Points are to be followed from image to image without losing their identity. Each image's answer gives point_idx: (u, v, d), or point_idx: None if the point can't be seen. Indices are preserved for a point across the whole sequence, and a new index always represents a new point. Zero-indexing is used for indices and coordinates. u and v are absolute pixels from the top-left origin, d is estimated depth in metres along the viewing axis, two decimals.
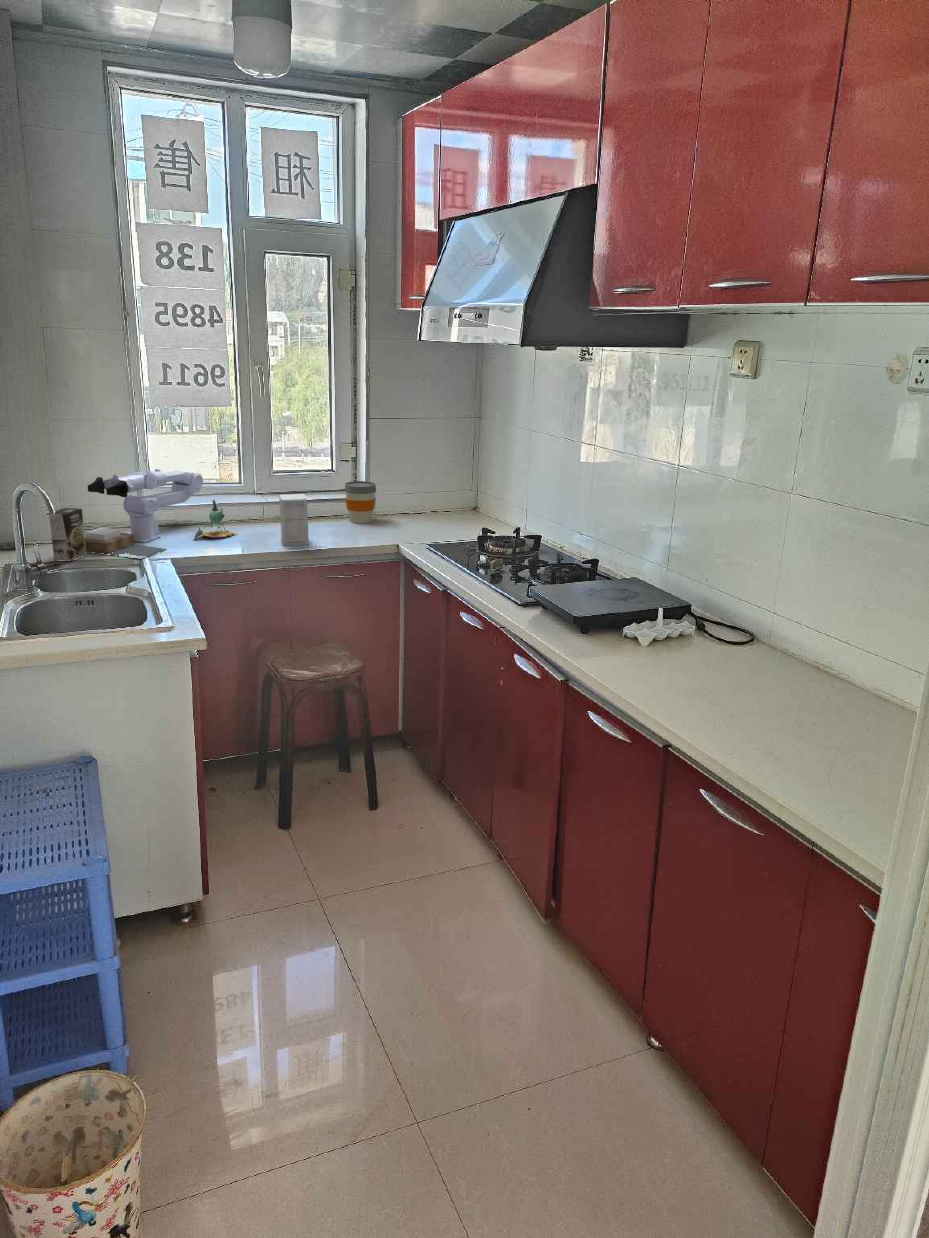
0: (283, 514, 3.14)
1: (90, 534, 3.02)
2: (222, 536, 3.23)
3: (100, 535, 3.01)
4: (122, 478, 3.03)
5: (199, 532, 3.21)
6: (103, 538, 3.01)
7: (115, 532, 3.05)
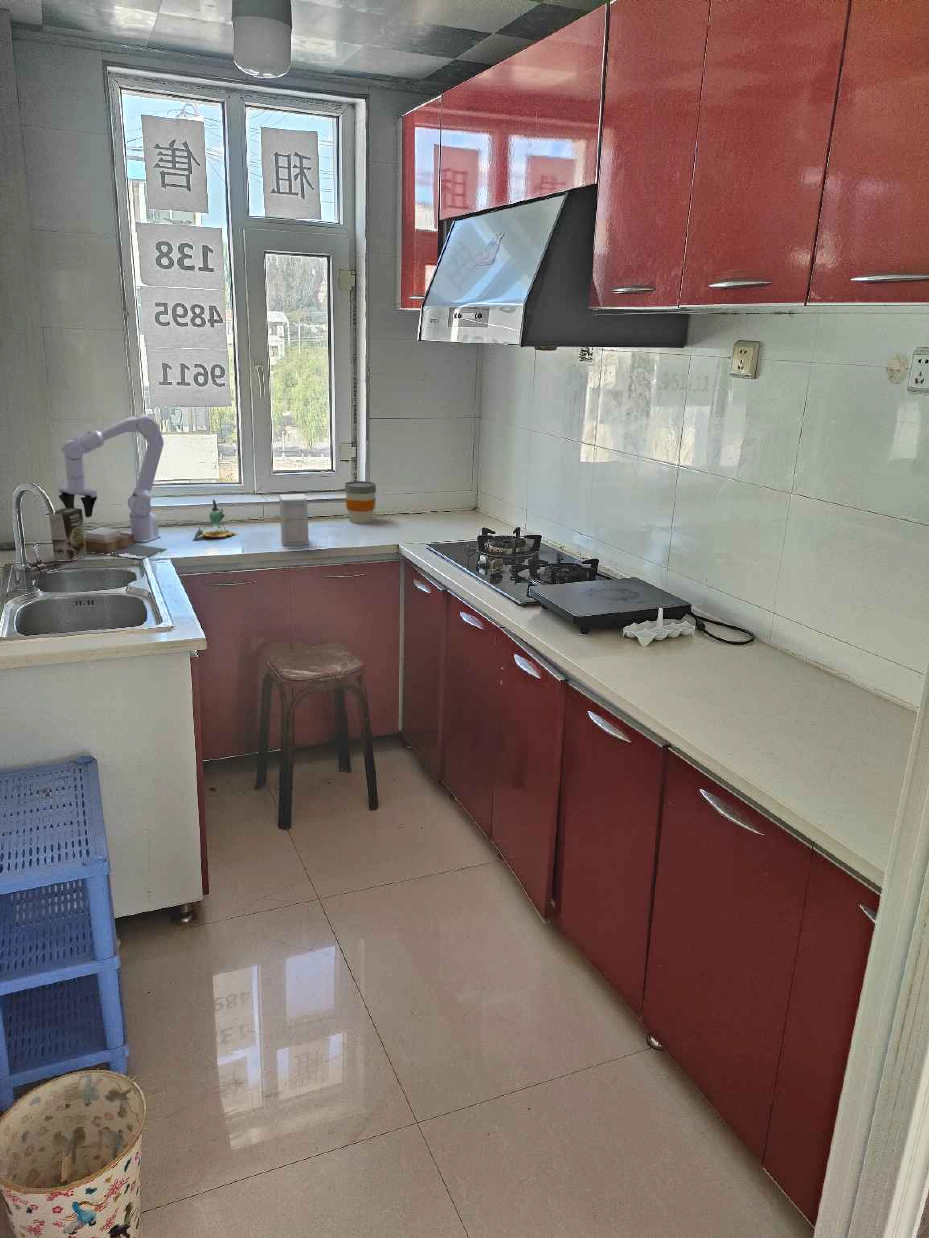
0: (283, 514, 3.14)
1: (90, 534, 3.02)
2: (222, 536, 3.23)
3: (100, 535, 3.01)
4: (73, 486, 3.00)
5: (199, 532, 3.21)
6: (103, 538, 3.01)
7: (115, 532, 3.05)
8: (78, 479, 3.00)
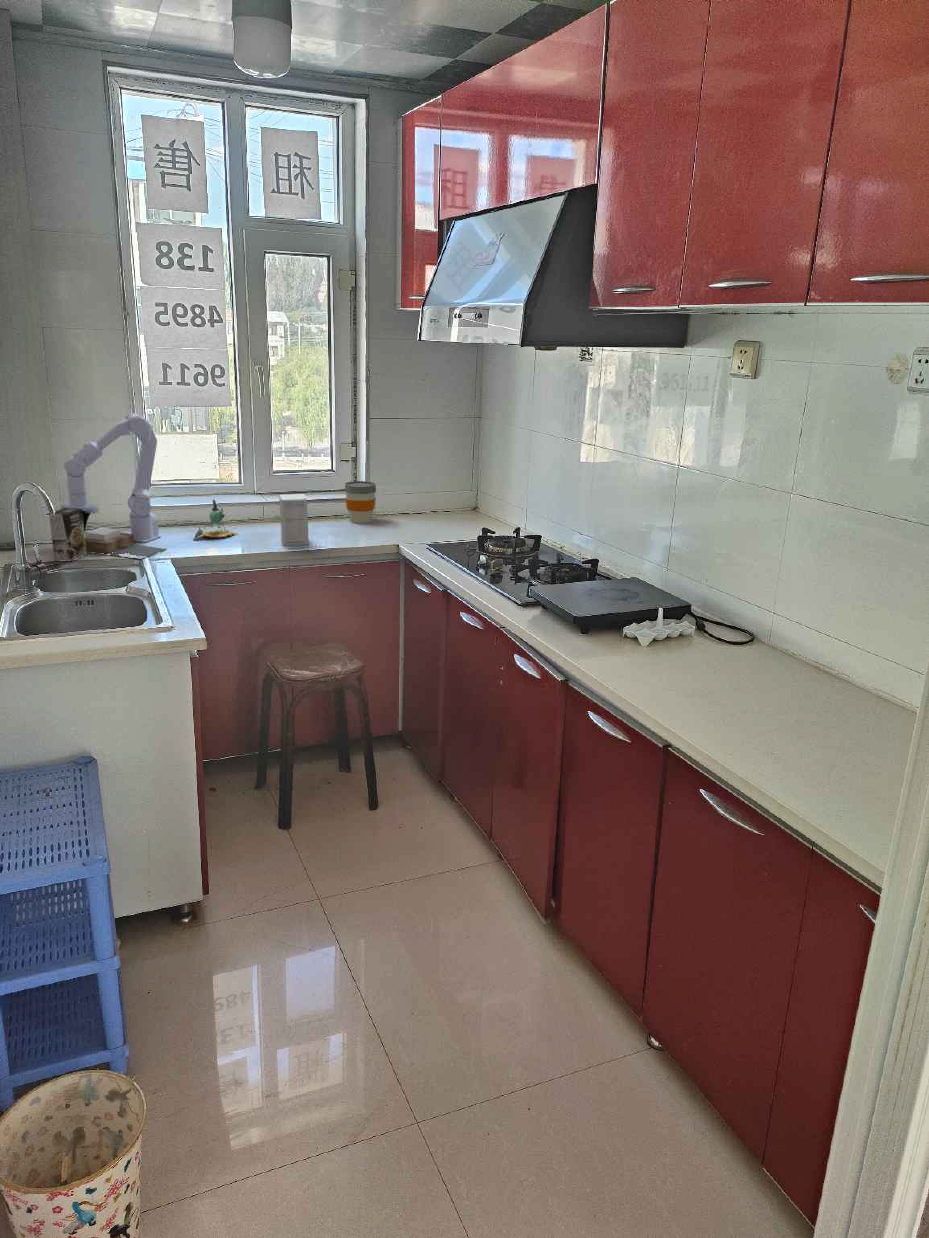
0: (283, 514, 3.14)
1: (90, 534, 3.02)
2: (222, 536, 3.23)
3: (100, 535, 3.01)
4: (75, 503, 3.02)
5: (199, 532, 3.21)
6: (103, 538, 3.01)
7: (115, 532, 3.05)
8: (80, 496, 3.01)
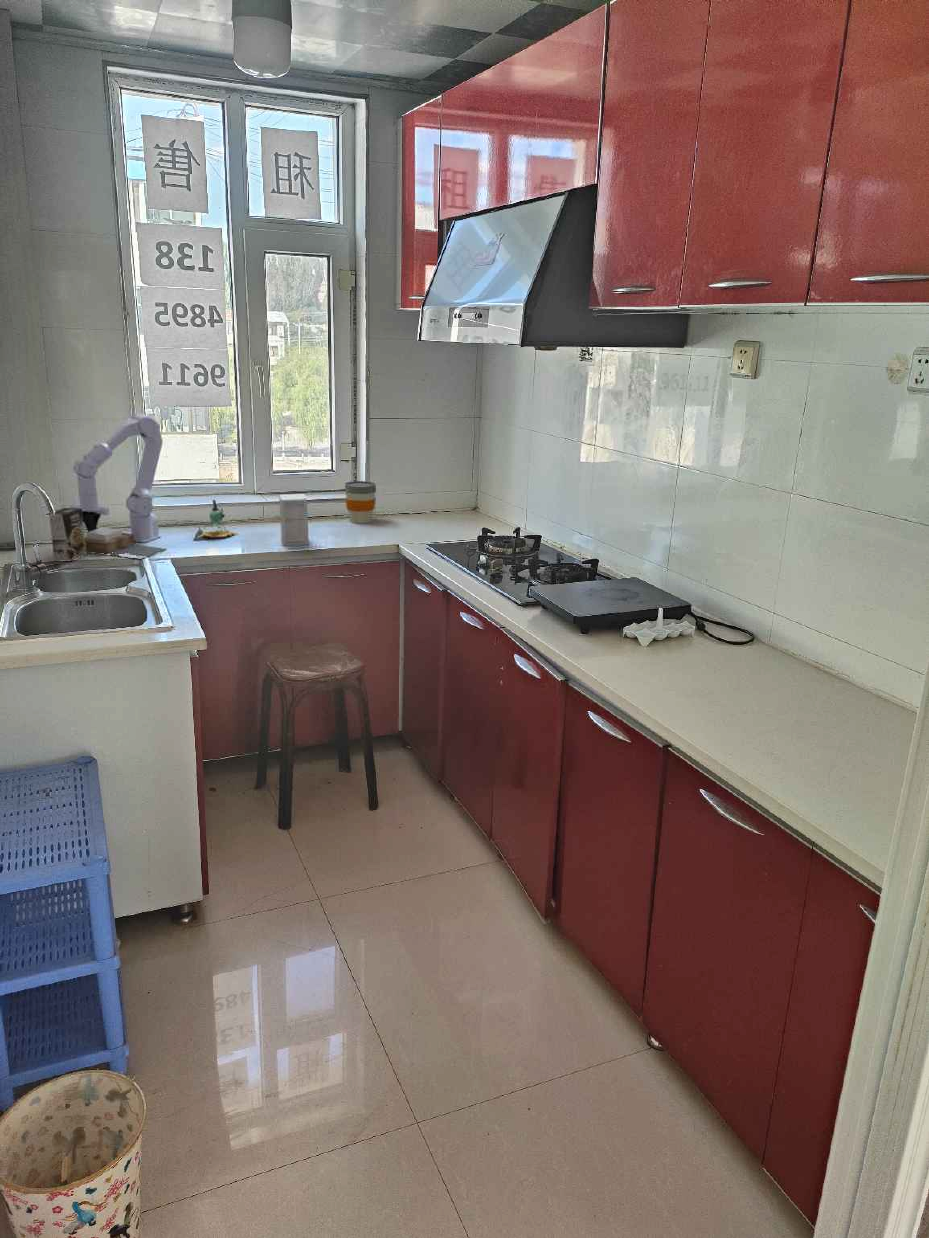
0: (283, 514, 3.14)
1: (91, 534, 3.02)
2: (222, 536, 3.23)
3: (101, 535, 3.01)
4: (86, 504, 3.00)
5: (199, 532, 3.21)
6: (104, 538, 3.01)
7: (116, 532, 3.05)
8: (90, 497, 3.00)
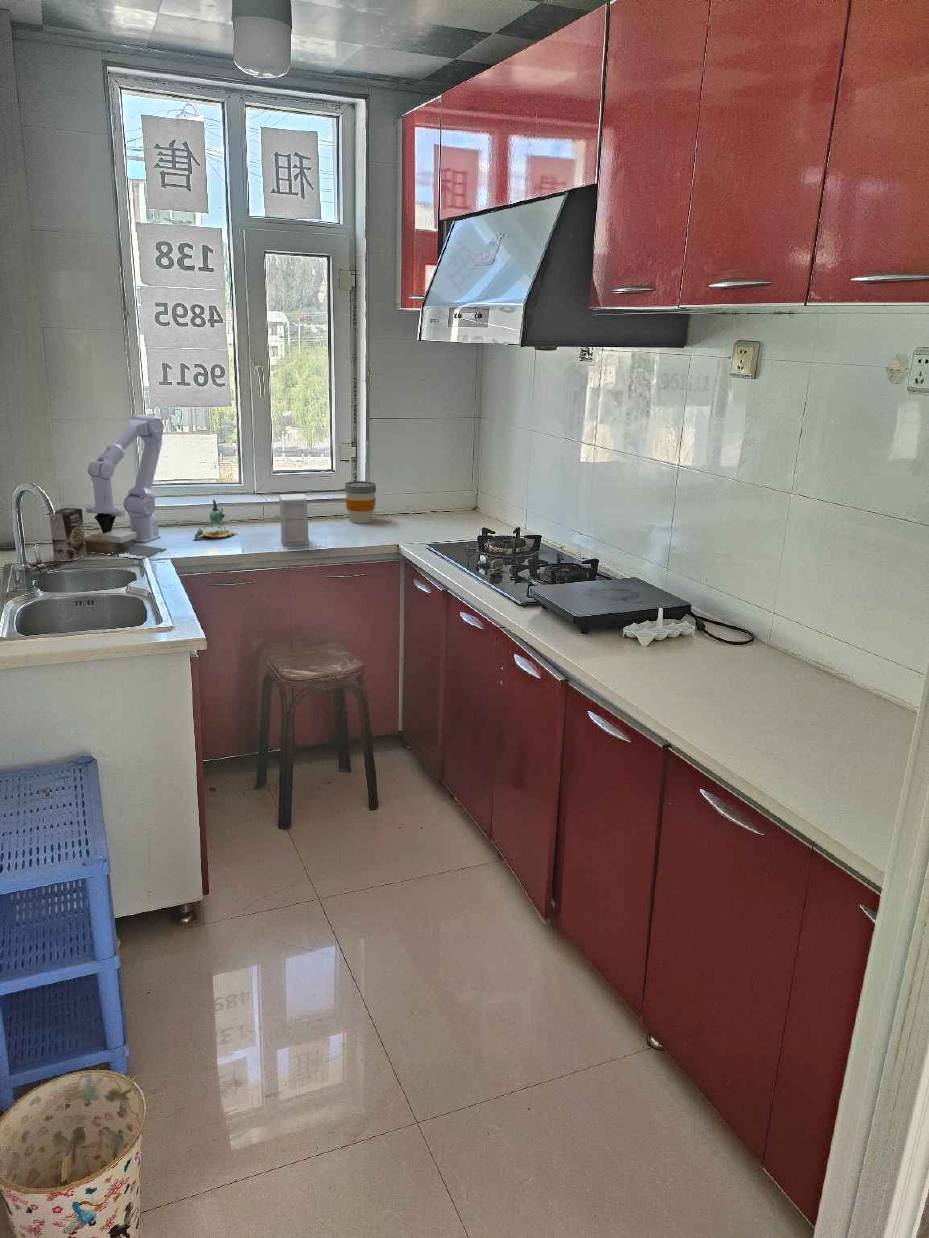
0: (283, 514, 3.14)
1: (106, 536, 3.00)
2: (222, 536, 3.23)
3: (116, 537, 2.99)
4: (101, 506, 2.98)
5: (199, 532, 3.21)
6: (119, 540, 2.99)
7: (131, 534, 3.03)
8: (106, 499, 2.98)
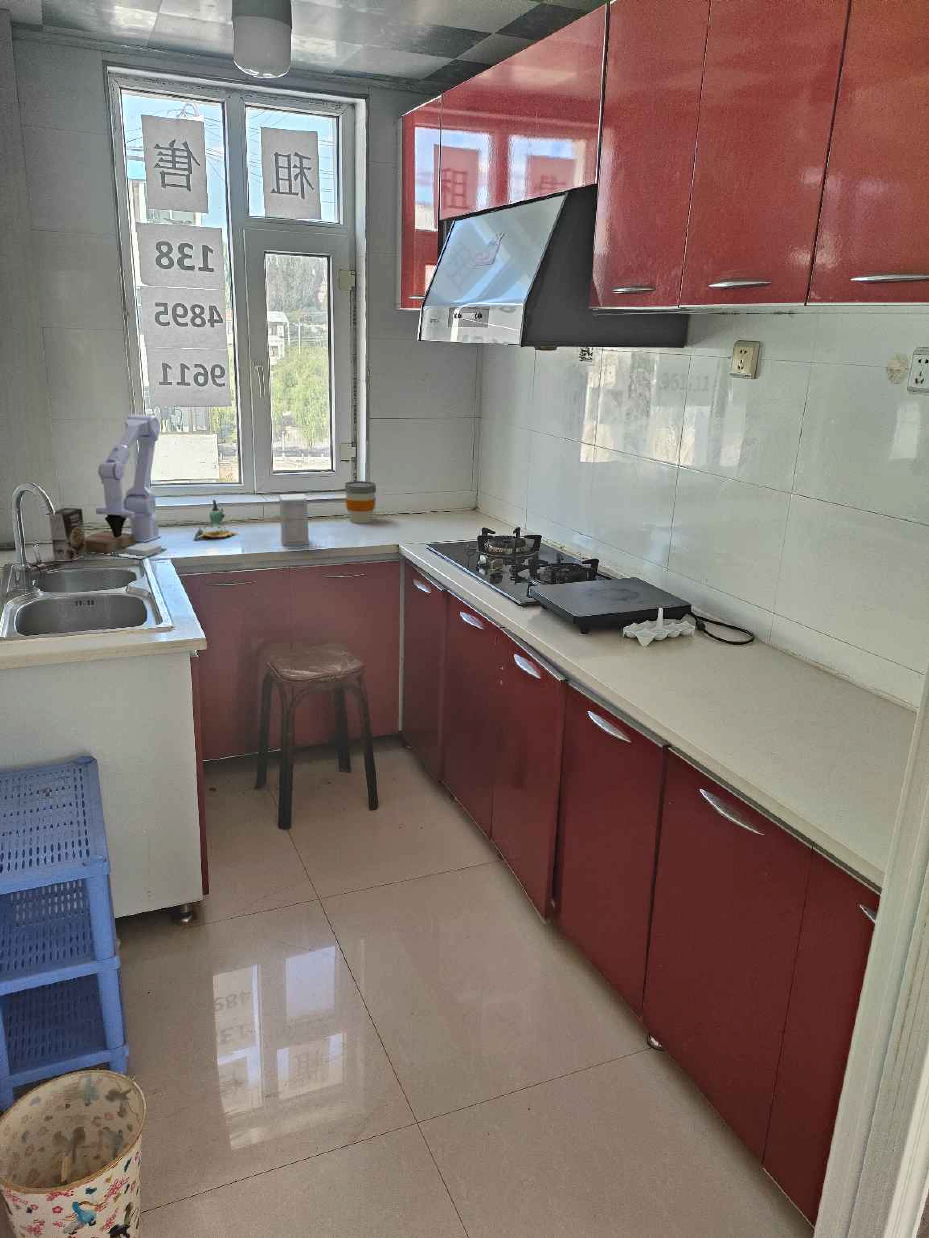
0: (283, 514, 3.14)
1: (140, 554, 2.97)
2: (222, 536, 3.23)
3: (130, 553, 2.99)
4: (112, 507, 2.97)
5: (199, 532, 3.21)
6: (127, 550, 2.99)
7: None
8: (116, 500, 2.97)
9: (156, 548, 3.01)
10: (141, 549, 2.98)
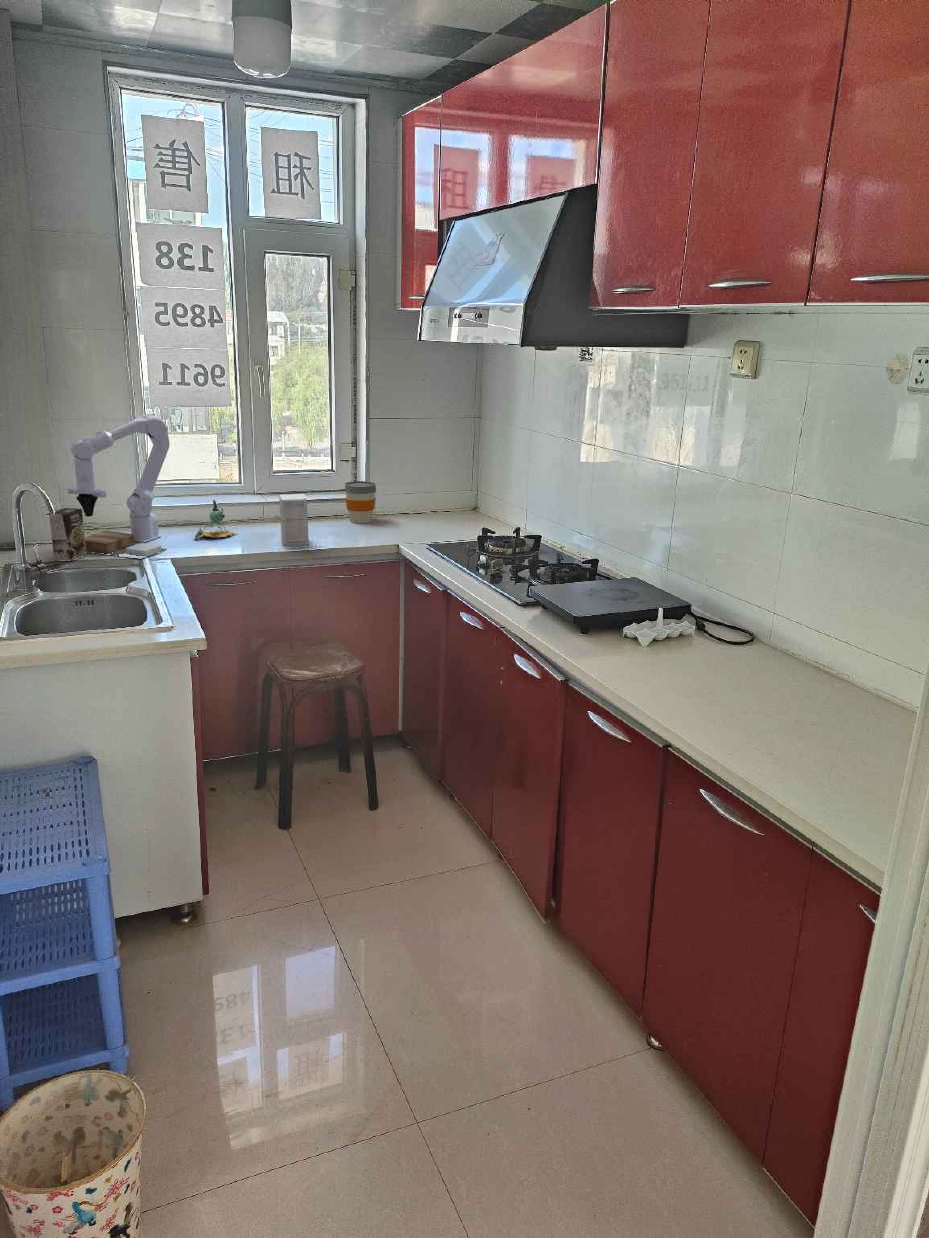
0: (283, 514, 3.14)
1: (140, 554, 2.97)
2: (222, 536, 3.23)
3: (130, 553, 2.99)
4: (83, 486, 3.00)
5: (199, 532, 3.21)
6: (127, 550, 2.99)
7: None
8: (87, 479, 3.00)
9: (156, 548, 3.01)
10: (141, 549, 2.98)
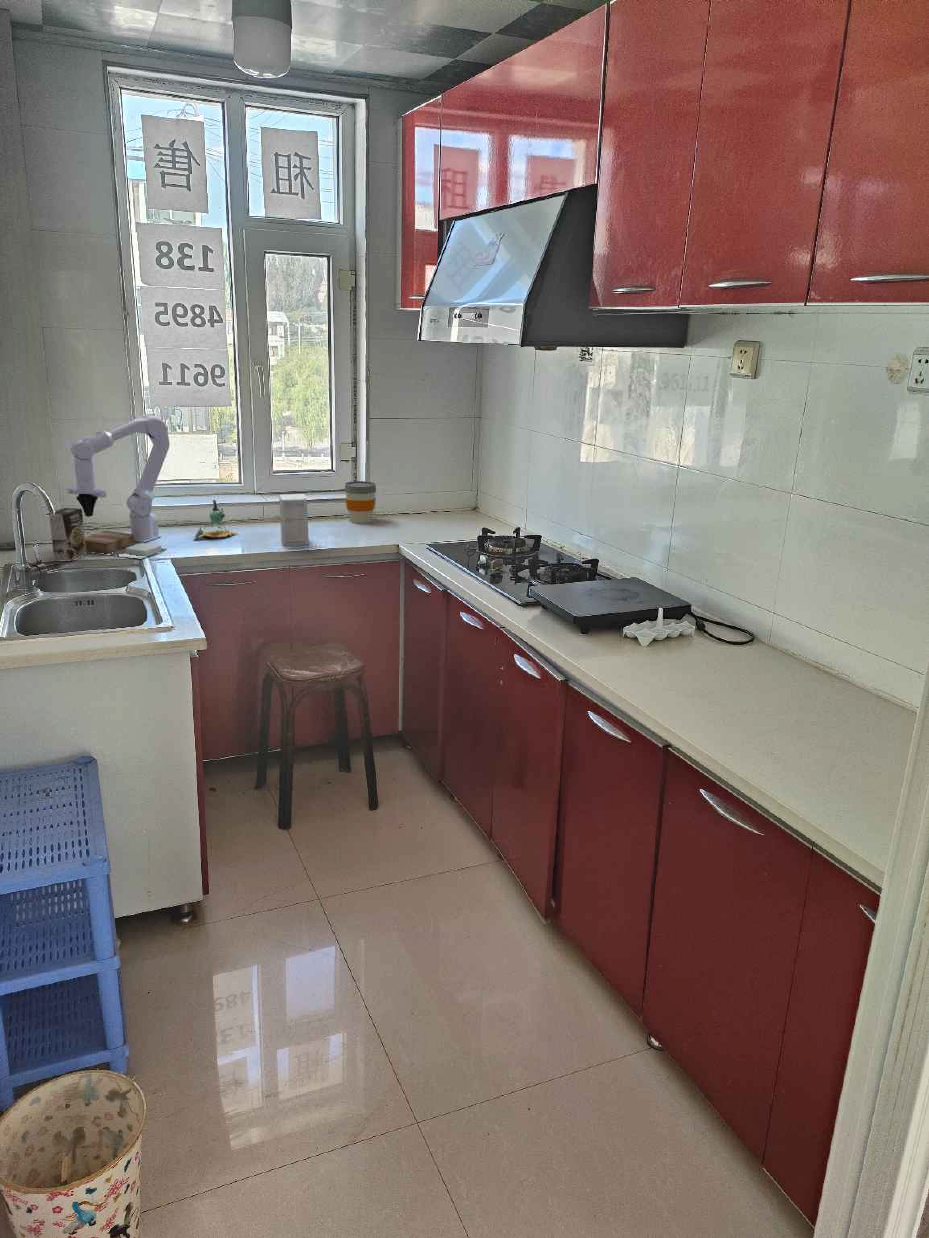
0: (283, 514, 3.14)
1: (140, 554, 2.97)
2: (222, 536, 3.23)
3: (130, 553, 2.99)
4: (83, 486, 3.00)
5: (199, 532, 3.21)
6: (127, 550, 2.99)
7: None
8: (87, 479, 3.00)
9: (156, 548, 3.01)
10: (141, 549, 2.98)
